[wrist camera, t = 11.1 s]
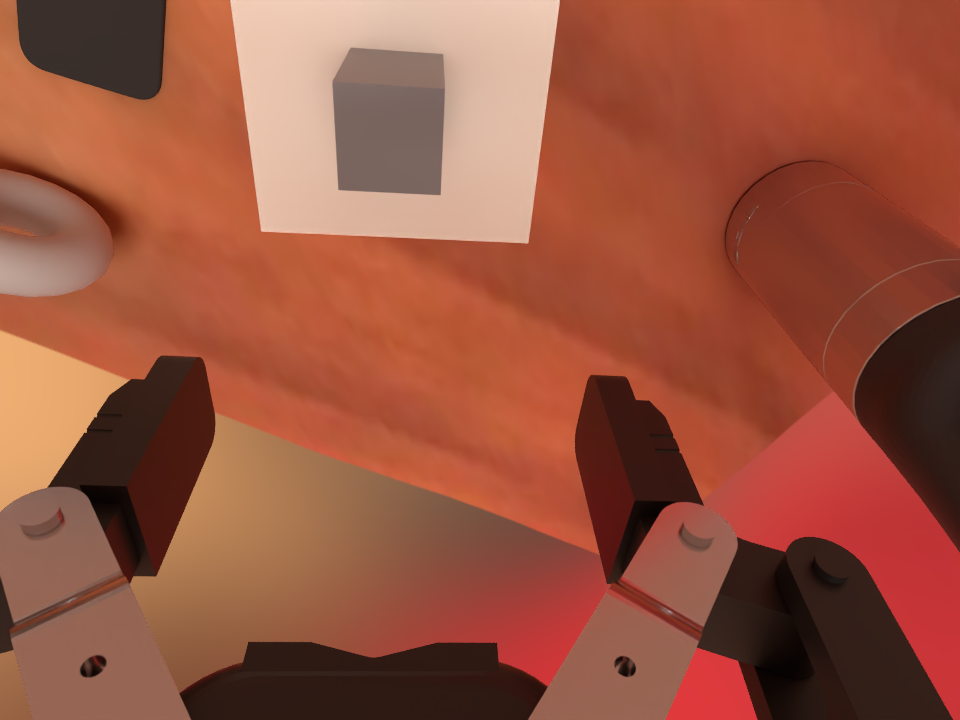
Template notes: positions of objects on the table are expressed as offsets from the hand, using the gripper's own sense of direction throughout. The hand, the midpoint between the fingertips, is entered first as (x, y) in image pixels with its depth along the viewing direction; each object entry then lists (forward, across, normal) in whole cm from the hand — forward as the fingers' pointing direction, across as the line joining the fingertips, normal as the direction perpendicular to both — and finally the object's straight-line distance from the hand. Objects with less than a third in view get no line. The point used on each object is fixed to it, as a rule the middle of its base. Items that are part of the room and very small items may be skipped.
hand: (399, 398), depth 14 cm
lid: (+17, +1, -2) cm, 17 cm away
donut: (+30, +23, +9) cm, 39 cm away
